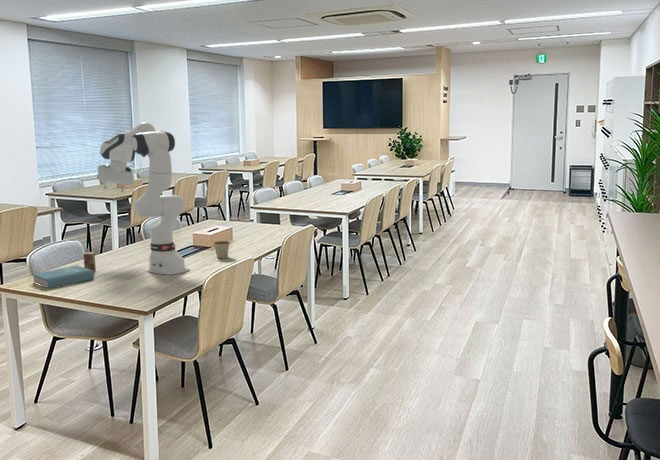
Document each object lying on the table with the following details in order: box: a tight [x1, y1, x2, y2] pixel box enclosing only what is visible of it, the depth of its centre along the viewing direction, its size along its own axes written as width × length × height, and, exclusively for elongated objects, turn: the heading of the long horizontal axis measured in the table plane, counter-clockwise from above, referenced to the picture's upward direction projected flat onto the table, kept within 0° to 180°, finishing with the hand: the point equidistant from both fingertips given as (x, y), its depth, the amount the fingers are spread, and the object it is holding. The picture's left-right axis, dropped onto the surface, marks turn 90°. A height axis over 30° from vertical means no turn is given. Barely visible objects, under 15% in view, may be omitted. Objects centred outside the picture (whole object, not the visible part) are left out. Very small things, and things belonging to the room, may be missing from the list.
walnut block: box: [83, 251, 97, 273], centre depth 312 cm, size 4×4×10 cm
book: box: [31, 265, 95, 289], centre depth 295 cm, size 23×16×5 cm
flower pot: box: [213, 240, 231, 259], centre depth 344 cm, size 9×9×9 cm
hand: (113, 190), depth 345 cm, fingers open, 8 cm apart
